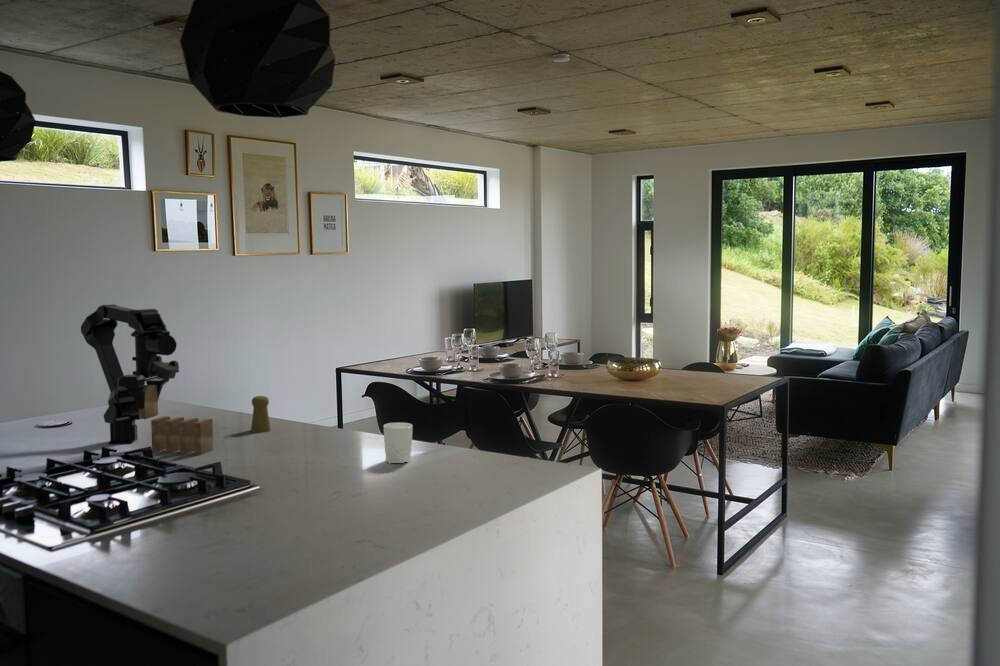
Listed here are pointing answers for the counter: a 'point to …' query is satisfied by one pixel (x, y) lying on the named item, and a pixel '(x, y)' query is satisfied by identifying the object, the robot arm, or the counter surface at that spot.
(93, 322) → the robot arm
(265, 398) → the olive yellow rounded piece
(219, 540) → the counter surface
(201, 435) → the walnut domino
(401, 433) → the white cup
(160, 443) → the walnut domino
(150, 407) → the walnut domino
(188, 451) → the walnut domino
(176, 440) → the walnut domino
